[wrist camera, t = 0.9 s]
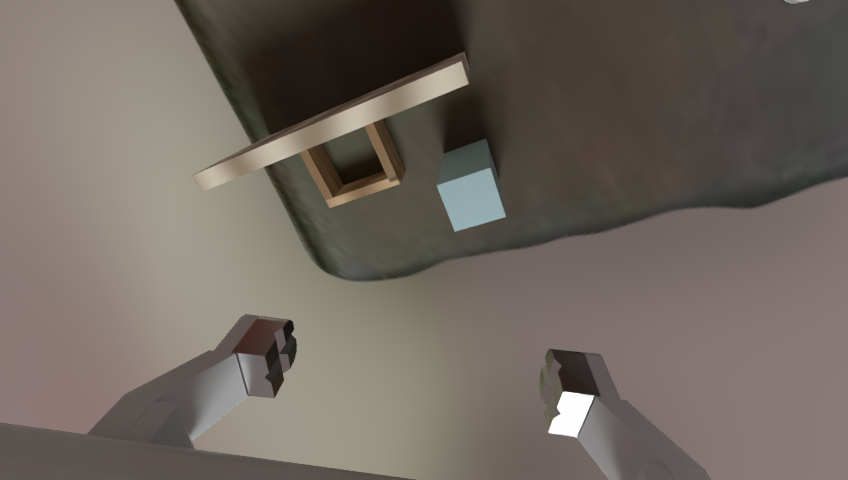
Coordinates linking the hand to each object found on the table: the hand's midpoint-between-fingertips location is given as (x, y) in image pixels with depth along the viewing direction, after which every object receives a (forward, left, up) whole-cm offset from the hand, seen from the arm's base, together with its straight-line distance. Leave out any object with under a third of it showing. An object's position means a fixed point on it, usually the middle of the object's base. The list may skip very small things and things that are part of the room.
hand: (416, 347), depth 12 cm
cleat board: (+9, -2, -33) cm, 34 cm away
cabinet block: (0, +5, -33) cm, 33 cm away
